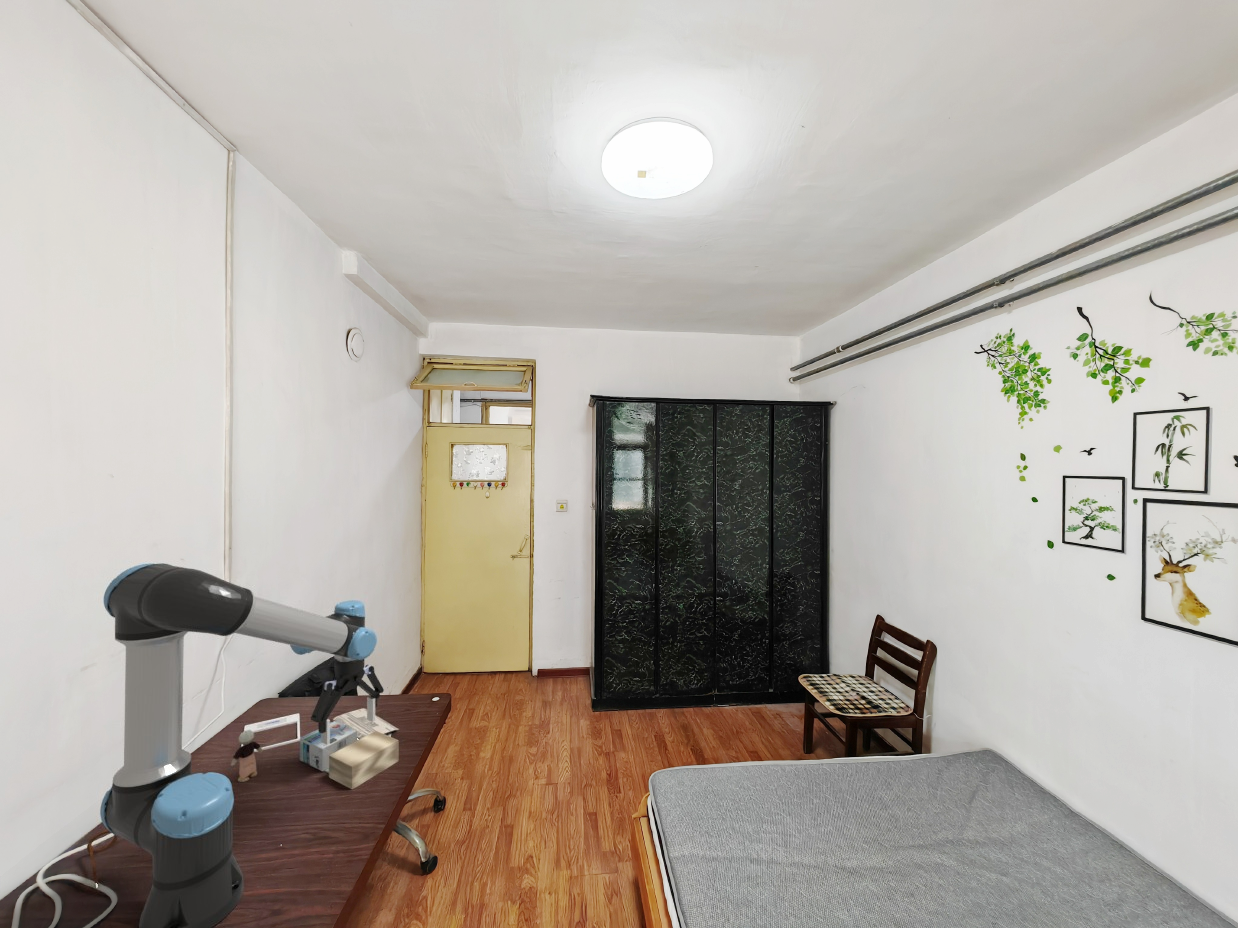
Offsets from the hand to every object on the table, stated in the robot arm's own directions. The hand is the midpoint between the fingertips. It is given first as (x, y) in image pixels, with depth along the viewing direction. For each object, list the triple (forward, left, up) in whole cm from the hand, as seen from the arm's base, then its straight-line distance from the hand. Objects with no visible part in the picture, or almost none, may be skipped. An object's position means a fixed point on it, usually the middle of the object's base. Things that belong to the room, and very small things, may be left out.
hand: (349, 730), depth 142 cm
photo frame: (-3, +34, -9) cm, 35 cm away
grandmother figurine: (-18, +17, -9) cm, 26 cm away
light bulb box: (-2, +1, -5) cm, 6 cm away
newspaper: (+13, +13, -10) cm, 21 cm away
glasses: (-43, +10, -9) cm, 45 cm away
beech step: (0, -7, -9) cm, 11 cm away
